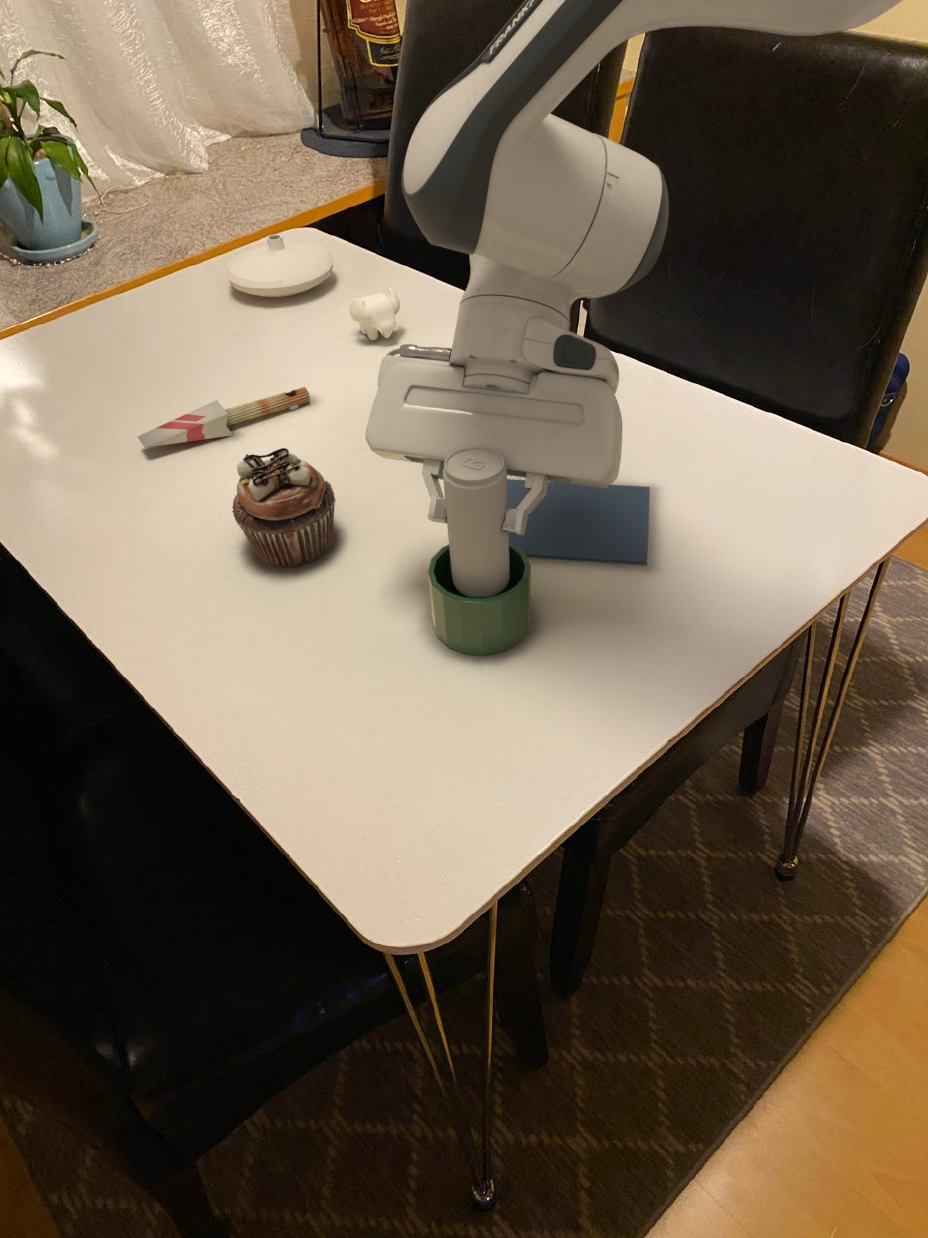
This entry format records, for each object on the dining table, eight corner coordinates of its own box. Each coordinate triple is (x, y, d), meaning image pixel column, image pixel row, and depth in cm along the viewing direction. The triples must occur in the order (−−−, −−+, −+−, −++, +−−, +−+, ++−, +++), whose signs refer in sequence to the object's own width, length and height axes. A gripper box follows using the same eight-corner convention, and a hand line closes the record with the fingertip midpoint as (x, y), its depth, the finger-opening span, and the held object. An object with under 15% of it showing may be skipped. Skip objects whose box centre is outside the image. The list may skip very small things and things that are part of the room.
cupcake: (360, 546, 87) (346, 458, 80) (270, 587, 83) (247, 499, 76) (313, 500, 92) (296, 415, 86) (227, 537, 89) (202, 451, 82)
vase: (288, 317, 125) (278, 266, 120) (207, 295, 131) (195, 247, 127) (358, 275, 134) (351, 227, 129) (279, 257, 141) (270, 210, 136)
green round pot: (535, 592, 80) (535, 539, 76) (524, 659, 74) (523, 606, 70) (443, 585, 82) (438, 533, 78) (425, 650, 76) (419, 598, 72)
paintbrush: (132, 422, 100) (299, 377, 107) (138, 444, 101) (302, 398, 109) (142, 437, 97) (312, 390, 105) (148, 459, 99) (315, 411, 106)
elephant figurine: (368, 354, 116) (362, 309, 111) (342, 331, 121) (335, 287, 117) (414, 339, 118) (410, 295, 114) (387, 317, 123) (382, 274, 119)
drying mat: (649, 489, 91) (649, 486, 91) (646, 565, 82) (647, 562, 82) (493, 481, 93) (492, 478, 93) (475, 554, 85) (475, 550, 85)
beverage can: (490, 610, 73) (485, 487, 65) (441, 591, 75) (429, 470, 67) (520, 576, 76) (518, 454, 67) (471, 558, 78) (463, 439, 69)
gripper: (371, 327, 70) (339, 502, 70) (632, 353, 65) (598, 541, 65) (397, 354, 76) (368, 515, 76) (638, 379, 71) (607, 552, 71)
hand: (476, 527), depth 70 cm, fingers closed on beverage can, 5 cm apart
